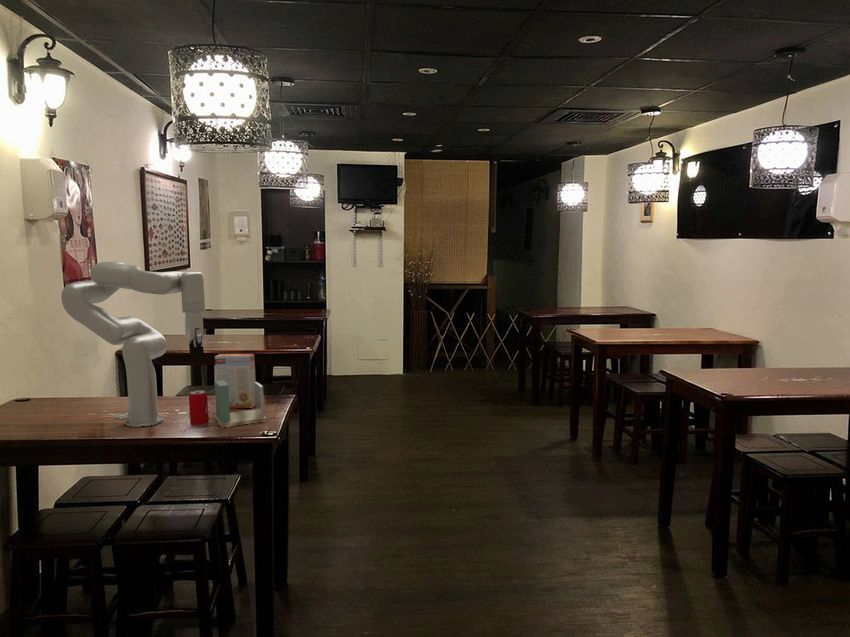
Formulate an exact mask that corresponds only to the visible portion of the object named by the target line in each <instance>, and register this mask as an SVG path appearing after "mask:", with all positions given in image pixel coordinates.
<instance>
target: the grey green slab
mask: <svg viewBox="0 0 850 637" xmlns="http://www.w3.org/2000/svg"><path fill="white" fill-rule="evenodd" d="M214 394H215V414H216V416H217V417H218V419H219V420H220V421H221V422H228V421H230V413H231V408H230V405H229V385H228V384H227V383H226V382H225V381H224V380H217V381H216V380H214Z"/></svg>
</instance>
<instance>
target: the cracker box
mask: <svg viewBox="0 0 850 637" xmlns="http://www.w3.org/2000/svg"><path fill="white" fill-rule="evenodd" d="M255 364H256V363H255V354H254V353H219V354H217V355H215V356H214V366H215V368H214V370H215V381H217V380H224V381H225V382H226V383H227V384H228V385H229V405H230V409H236V408H250V407H253V406H255V386H254V382H256V365H255ZM253 408H254V407H253Z"/></svg>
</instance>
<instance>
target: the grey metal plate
mask: <svg viewBox="0 0 850 637" xmlns="http://www.w3.org/2000/svg"><path fill="white" fill-rule="evenodd" d="M254 386H255V407H254V410H256V412H257V413H258V414H259V415H260V416H261V417H263V416H264V415H265V406H264V405H265V404H264V386H263V385H262V384H261V383H259V382H258V381H255V382H254Z"/></svg>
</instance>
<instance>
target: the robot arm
mask: <svg viewBox="0 0 850 637" xmlns="http://www.w3.org/2000/svg"><path fill="white" fill-rule="evenodd" d="M90 278H91V280H80V281H79V280H78V281H74V282H70V283H68V284H67V285H66V286H64V287H63V289H62V291H61V294H60V296H61V304H62V307H63V309H64V310H65V312H66V313H67V314H68V316H70V317H71V318H72V319H73V320H74V321H76V322H77V323H79V324H81V325H82V326H84V327H86V328H87V329H89V330H90V331H91V332H93V333H94V334H95V335H97V336H98V337H100V338H101V339H102V340H104V341H105V342H106V343H109V344H110V345H113V346H120V345H122V350H121V351H122V358H123V361H124V365H125V371H126V382H127V383H126V384H127V398H128V410H127V412H124V413H123V414H121V413H119V414H115V416H114V417H115V418H114V419H115V421H124V424H126V425H127V427H129V426H131V428H142V426H145V427H151V425H152V426H155V425H159V424H161V423H162V422H163V421H164V417H163V416H162V415H159V404H158V388H157V373H156V369H155V366H154V362H153V361H152V360H155V359H157V358H160V357H162V356H163V355H164V354H166V351H167V349H168V342H167V339H166V338H165V337H164V335H163V334H162V333H161V332H159V331H158V330H156V329H155V328H153V327H152V326H150V325H149V324H148V323H146V322H145V321H143V320H141V319H140V318H137V317H134V316H132V315H131V316H129V315H128V316H120V317H118V316H115V315H113V314H111V313H110V312H108V311H107V310H106V309H104V308H102V307H100V306H98V305H95V304H99V303H102V302H104V301H106V300H108V299H109V298H110V297H111V296H112V295H114V294H115V293H116V292H117V291H119V289H125V290H133V291H135V292H137V293H138V292H139V293H143V294H144V293H145V294H150V295H151V294H152V295H158V296H159V295H162V296H163V295H164V296H165V295H169V294H177V293H180V294H181V296H180V298H181V310H182V313H185V314H184V322H185V324H184V326H185V339H186V340H187V341H188V342H189V343H188V346H189V355H191V356H192V355H193V359H195V360H198V359H199V360H200V359H204V357H205V355H204V351H205V349H204V344H203V340H204V335H205V334H204V333H205V332H204V319H203V318H204V317H203V313H204V312H206V303H205V302H206V301H205V300H206V299H205V298H206V297H205V284H204V283H205V282H204V280H205V279H204V274H203V273H202V272H200V271H185V272H183V271H178V270H177V271H176V270H175V271H173V270H172V271H163V272H161V271H160V272H159V271H158V272H157V271H148V270H142V268H140V267H139V266H138V265H133V264H126V263H125V262H122V261H118V260H117V261H101V262H98V263H96V264H94V265H93V266H92V268H91V270H90Z"/></svg>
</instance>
